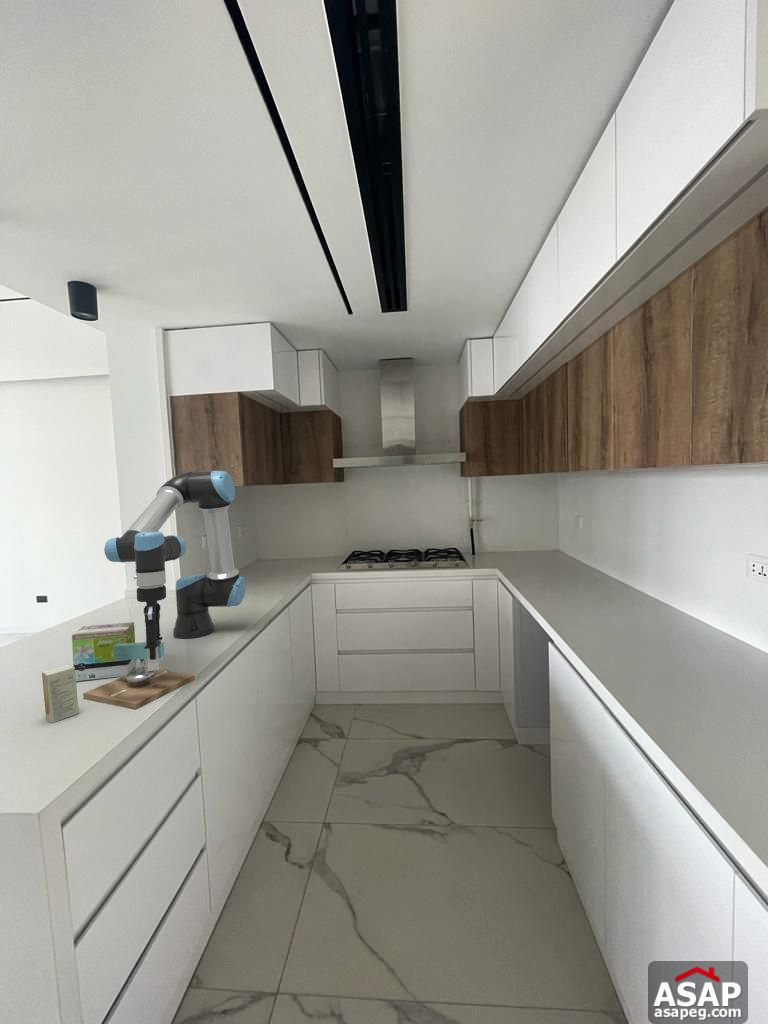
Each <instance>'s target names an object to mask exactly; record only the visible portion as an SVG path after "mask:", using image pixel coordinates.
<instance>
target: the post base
mask: <svg viewBox="0 0 768 1024" xmlns="http://www.w3.org/2000/svg"><path fill="white" fill-rule="evenodd" d="M145 669H148V666H145ZM126 676H127V675H126ZM126 676H123V677H117V678H116V679H114V680H112V681H110V682H107V683H105V684H102V685H99V686H98V687H94V688H93V689H90V690H88V691H85V692H83V693H82V697H83V699H84V700H87V701H93V702H98V703H103V704H107V705H111V706H117V707H118V706H119V707H121V706H122V708H126V707H127V708H128V709H131V710H138V709H139V707H140V708H141V707H143V705H144V706H146V705H147V704H149V703H151V702H153V701H155V700H158V699H159V698H161V697H163V696H165V695H167V694H169V693H171V692H174V691H176V690H177V689H179V688H181V687H184V686H185V685H187V684H189V683H190V682H193V681H195V678H196V677H195V674H193V673H192V674H191V673H185V672H179V671H172V670H166V669H161V668H159V670H154V676H153V677H152V678H151V679H148V680H145V681H141V682H128V681H127V677H126Z"/></svg>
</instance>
